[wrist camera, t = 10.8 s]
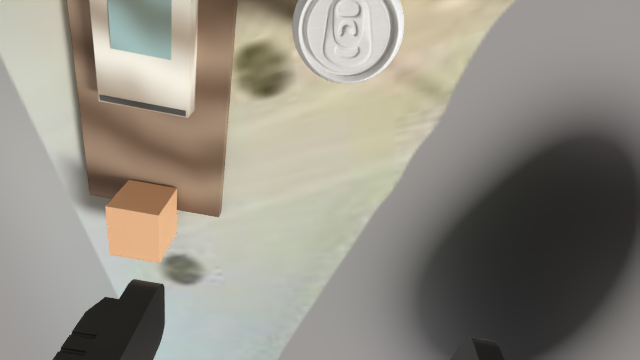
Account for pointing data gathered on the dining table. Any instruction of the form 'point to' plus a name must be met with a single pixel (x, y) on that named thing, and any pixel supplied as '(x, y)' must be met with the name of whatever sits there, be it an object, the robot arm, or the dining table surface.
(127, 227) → the light orange cube
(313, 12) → the beer can
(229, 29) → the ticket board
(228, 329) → the dining table surface
